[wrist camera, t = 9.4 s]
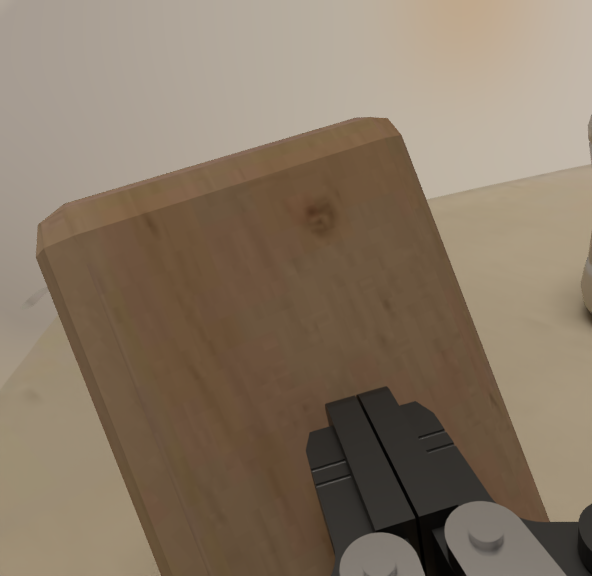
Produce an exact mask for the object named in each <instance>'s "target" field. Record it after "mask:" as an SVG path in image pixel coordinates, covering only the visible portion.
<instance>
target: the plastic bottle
mask: <svg viewBox="0 0 592 576" xmlns="http://www.w3.org/2000/svg"><path fill="white" fill-rule="evenodd" d="M588 138H589V141H590V143H589V146H590V154H591V163H592V115H591V118H590V121H589V124H588ZM581 288H582V294H583V300H584V304H585V306H586V307H587V308H588V310H589V311H590V312H591V314H592V233H591V240H590V247H589V254H588V257H587V260H586V264H585V267H584V271H583V276H582V281H581Z"/></svg>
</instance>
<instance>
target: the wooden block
mask: <svg viewBox="0 0 592 576" xmlns="http://www.w3.org/2000/svg"><path fill="white" fill-rule="evenodd" d="M36 259H37V261H38V264H39V266H40V269H41V271H42V274H43V276H44V279H45V282H46V284H47V287H48V289H49V292H50V294H51V297H52V299H53V302H54V304H55V307H56V309H57V312H58V315H59V317H60V320H61V322H62V325H63V327H64V330H65V332H66V335H67V337H68V340H69V342H70V345H71V348H72V350H73V353H74V355H75V358H76V360H77V363H78V365H79V368H80V370H81V373H82V375H83V378H84V380H85V383H86V386H87V388H88V391H89V393H90V396H91V398H92V401H93V403H94V406H95V408H96V411H97V413H98V416H99V419H100V421H101V424H102V426H103V429H104V431H105V434H106V436H107V439H108V441H109V444H110V446H111V449H112V452H113V454H114V457H115V459H116V462H117V464H118V467H119V469H120V472H121V474H122V477H123V479H124V482H125V484H126V487H127V490H128V492H129V495H130V497H131V500H132V502H133V505H134V507H135V510H136V512H137V515H138V517H139V520H140V523H141V525H142V528H143V530H144V533H145V535H146V538H147V540H148V543H149V545H150V548H151V550H152V553H153V556H154V558H155V561H156V563H157V566H158V568H159V571H160V573H161V576H331V574H332V572H333V568H334V564H335V555H334V552H333V548H332V545H331V542H330V538H329V535H328V531H327V528H326V524H325V521H324V517H323V514H322V511H321V507H320V504H319V501H318V497H317V493H316V489H315V485H314V482H313V478H312V474H311V470H310V466H309V462H308V458H307V454H306V447H307V442H308V438H309V433H310V432H312V431H315V430H319V429H322V428H326V427H329V423H328V419H327V414H326V410H325V404H326V403H329V402H333V401H336V400H340V399H343V398H347V397H350V396H354V395H355V396H356V395H357V394H360V393H363V392H367V391H370V390H374V389H377V388H381V387H384V386H387V387H388V388H389V389H390V391H391V393H392V394H393V396H394V398H395V399H396V401H397V403H398V404H399V406H400V405H403V404H407V403H410V402H414V401H416V402H418V403H419V404H421V405H422V406H424V407H426V408H427V409H429V410H430V411H432V412H433V413H434V414H435V416H436V417H437V418H438V420H439V421H440V423H441V424H442V426H443V427H444V429H445V432H447V433H448V435H449V436H450V438H451V439H452V440H453V442H454V445H455V446H457V448H458V449H459V451H460V452H461V454H462V455H463V457H464V458H465V460H466V461H467V463H468V464H469V465H470V467H471V468H472V470H473V471H474V473H475V474H476V476H477V477H478V479H479V480H480V482H481V483H482V485H483V486H484V488H485V489H486V490H487V492H488V493H489V495H490V496H491V498H492V499H493V500H494V501H495V502H496V503H497V504H499V505H501V506H504V507H505V508H507V509H509V510H511V511H512V512H513V513H514V514H516V515H517V516H518V517H520V518H523V519H526V520H531V521H536V522H550V521H549V518H548V516H547V513H546V511H545V508H544V505H543V503H542V500H541V498H540V495H539V492H538V490H537V487H536V485H535V482H534V479H533V477H532V474H531V472H530V469H529V466H528V464H527V461H526V458H525V456H524V453H523V451H522V448H521V445H520V443H519V440H518V438H517V435H516V432H515V430H514V427H513V425H512V422H511V419H510V417H509V414H508V412H507V409H506V406H505V404H504V401H503V399H502V396H501V393H500V391H499V388H498V386H497V383H496V380H495V378H494V375H493V372H492V370H491V367H490V365H489V362H488V359H487V357H486V354H485V352H484V349H483V346H482V344H481V341H480V339H479V336H478V333H477V331H476V328H475V326H474V323H473V320H472V318H471V315H470V313H469V310H468V307H467V305H466V302H465V299H464V297H463V294H462V292H461V289H460V286H459V284H458V281H457V279H456V276H455V273H454V271H453V268H452V266H451V263H450V260H449V258H448V255H447V253H446V250H445V247H444V245H443V242H442V240H441V237H440V234H439V232H438V229H437V226H436V224H435V221H434V219H433V216H432V213H431V211H430V208H429V206H428V203H427V200H426V198H425V195H424V193H423V190H422V187H421V185H420V182H419V180H418V177H417V174H416V172H415V169H414V167H413V164H412V161H411V159H410V156H409V154H408V151H407V148H406V146H405V143H404V141H403V138H402V135H401V134H400V133H399V132H398V130H397V129H396V128H395V127H394V125H393V124H392V123H391V122H390V121H389V119H388V118H373V117H364V118H353V119H350V120H347V121H343V122H340V123H336V124H333V125H330V126H326V127H323V128H319V129H316V130H313V131H309V132H306V133H302V134H299V135H296V136H293V137H289V138H286V139H282V140H279V141H275V142H272V143H269V144H265V145H262V146H258V147H255V148H252V149H248V150H245V151H241V152H238V153H235V154H231V155H228V156H224V157H221V158H218V159H214V160H211V161H208V162H205V163H201V164H197V165H195V166H191V167H187V168H184V169H180V170H177V171H174V172H170V173H167V174H163V175H160V176H157V177H153V178H150V179H147V180H143V181H140V182H136V183H133V184H130V185H126V186H123V187H119V188H116V189H113V190H109V191H106V192H103V193H99V194H96V195H92V196H89V197H85V198H82V199H79V200H75V201H72V202H68V203H65V204H63V205H62V206H61V207H60V208H58V209H57V210H56V211H55V212H53V213H52V214H51V215H50V216H48V217H47V218H46V219H45V220H43V221H42V222H41V223H39V225H38V232H37V249H36Z"/></svg>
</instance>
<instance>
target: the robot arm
mask: <svg viewBox="0 0 592 576" xmlns="http://www.w3.org/2000/svg"><path fill="white" fill-rule="evenodd" d="M325 410H326V414H327V419H328V423H329V427H326V428H322V429H319V430H315V431H312V432H310V433H309V438H308V442H307V447H306V454H307V458H308V462H309V466H310V470H311V474H312V478H313V482H314V485H315V489H316V493H317V497H318V501H319V504H320V507H321V511H322V514H323V517H324V521H325V524H326V528H327V531H328V535H329V538H330V542H331V545H332V548H333V552H334V555H335V564H334V568H333V572H332V574H331V576H592V504H591V505H589V506H588V507H586V508H585V509H584V510H583V512H582V513H581V515H580V518H579V522H536V521H531V520H526V519H523V518H520V517H518V516H517V515H516V514H514V513H513V512H512V511H511V510H509V509H507V508H505V507H504V506H501V505H499V504H497V503H496V502H495V501H494V500H493V499H492V498H491V496H490V495H489V493H488V492H487V490H486V489H485V488H484V486H483V485H482V483H481V482H480V480H479V479H478V477H477V476H476V474H475V473H474V471H473V470H472V468H471V467H470V465H469V464H468V463H467V461H466V460H465V458H464V457H463V455H462V454H461V452H460V451H459V449H458V448H457V446H455V445H454V442H453V440H452V439H451V438H450V436H449V435H448V433H447V432H445V429H444V427H443V426H442V424H441V423H440V421H439V420H438V418H437V417H436V416H435V414H434V413H433V412H432V411H430V410H429V409H427V408H426V407H424V406H422V405H421V404H419V403H418V402H416V401H414V402H410V403H407V404H403V405H400V406H399V404H398V403H397V401H396V399H395V398H394V396H393V394H392V393H391V391H390V389H389V388H388V387H387V386H384V387H381V388H377V389H374V390H370V391H367V392H363V393H360V394H357V395H356V396H355V395H354V396H350V397H347V398H343V399H340V400H336V401H333V402H329V403H326V404H325Z"/></svg>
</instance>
